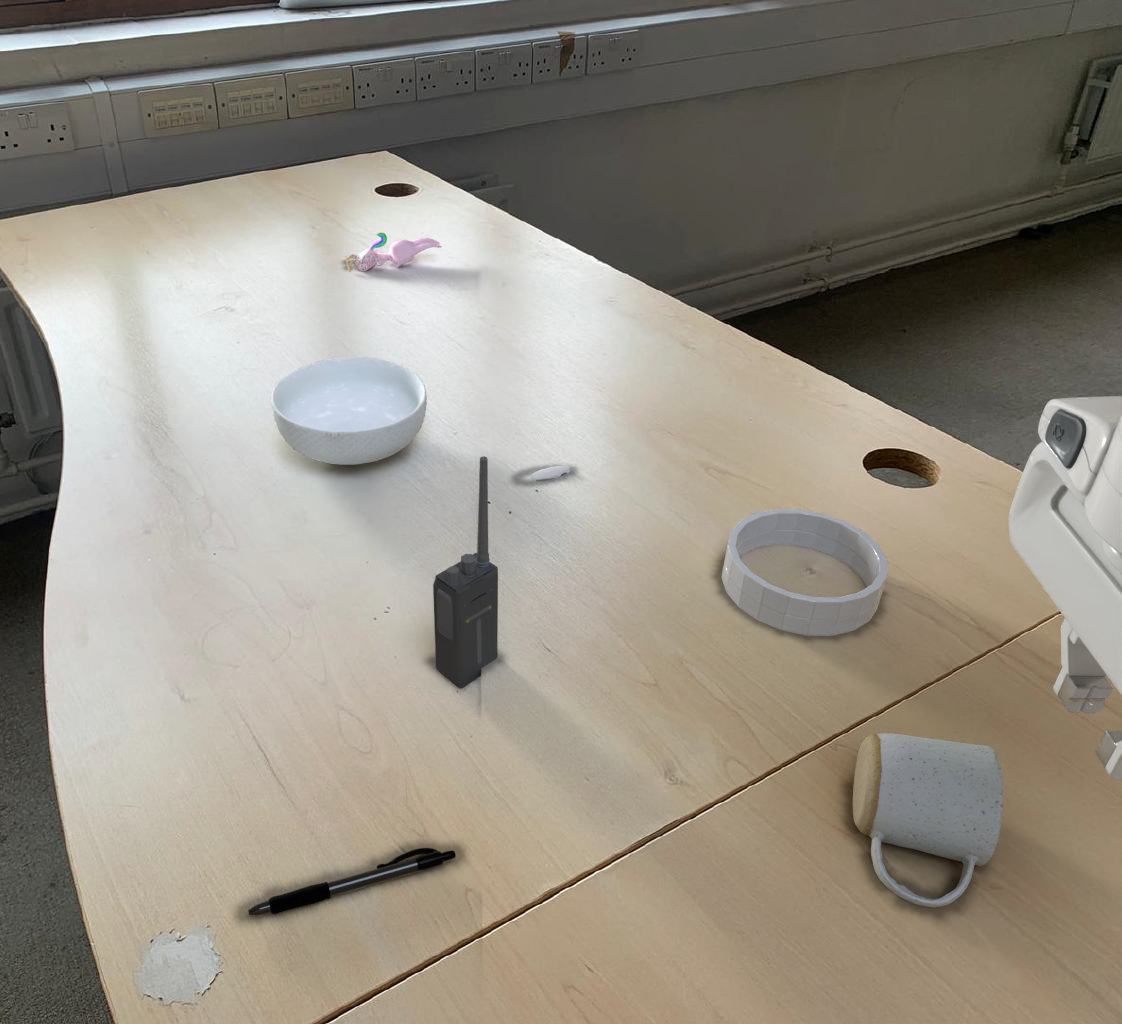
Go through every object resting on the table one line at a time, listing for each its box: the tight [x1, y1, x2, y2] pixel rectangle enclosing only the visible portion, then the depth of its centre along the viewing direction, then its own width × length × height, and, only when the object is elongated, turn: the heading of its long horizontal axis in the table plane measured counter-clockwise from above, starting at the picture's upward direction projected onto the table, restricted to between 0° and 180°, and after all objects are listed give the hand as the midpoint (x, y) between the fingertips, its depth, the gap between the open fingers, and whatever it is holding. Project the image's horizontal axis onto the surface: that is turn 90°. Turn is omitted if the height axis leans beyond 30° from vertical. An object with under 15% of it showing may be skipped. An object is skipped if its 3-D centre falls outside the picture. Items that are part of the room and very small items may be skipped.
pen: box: [247, 847, 457, 917], centre depth 66 cm, size 14×2×1 cm, turn 108°
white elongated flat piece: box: [529, 464, 571, 482], centre depth 105 cm, size 6×2×1 cm, turn 105°
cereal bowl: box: [270, 356, 428, 466], centre depth 110 cm, size 17×17×7 cm
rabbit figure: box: [344, 232, 443, 273], centre depth 154 cm, size 6×6×15 cm
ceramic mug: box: [852, 732, 1004, 908], centre depth 66 cm, size 11×8×8 cm
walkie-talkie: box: [432, 456, 499, 689], centre depth 77 cm, size 5×3×20 cm
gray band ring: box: [721, 508, 889, 637], centre depth 89 cm, size 13×13×4 cm
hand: (1096, 734), depth 48 cm, fingers open, 3 cm apart
